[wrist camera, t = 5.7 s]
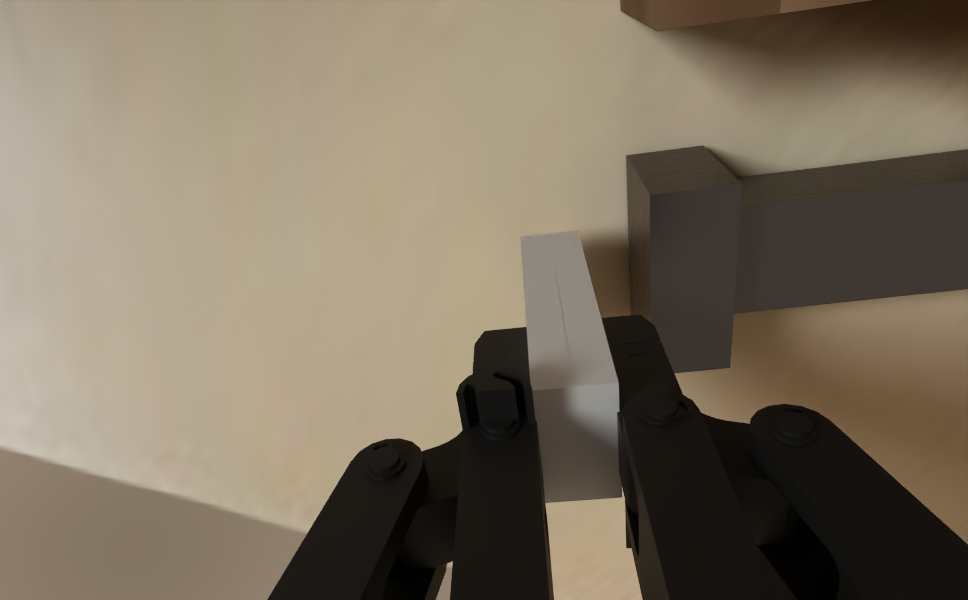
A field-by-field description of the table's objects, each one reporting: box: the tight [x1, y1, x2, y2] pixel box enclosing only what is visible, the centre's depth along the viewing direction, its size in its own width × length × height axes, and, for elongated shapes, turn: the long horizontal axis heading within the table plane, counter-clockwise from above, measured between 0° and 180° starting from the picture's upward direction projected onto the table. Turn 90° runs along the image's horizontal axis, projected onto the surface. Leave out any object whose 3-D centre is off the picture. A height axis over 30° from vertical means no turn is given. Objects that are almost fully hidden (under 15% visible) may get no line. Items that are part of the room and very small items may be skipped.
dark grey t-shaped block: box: [626, 146, 968, 373], centre depth 16 cm, size 10×5×3 cm, turn 98°
